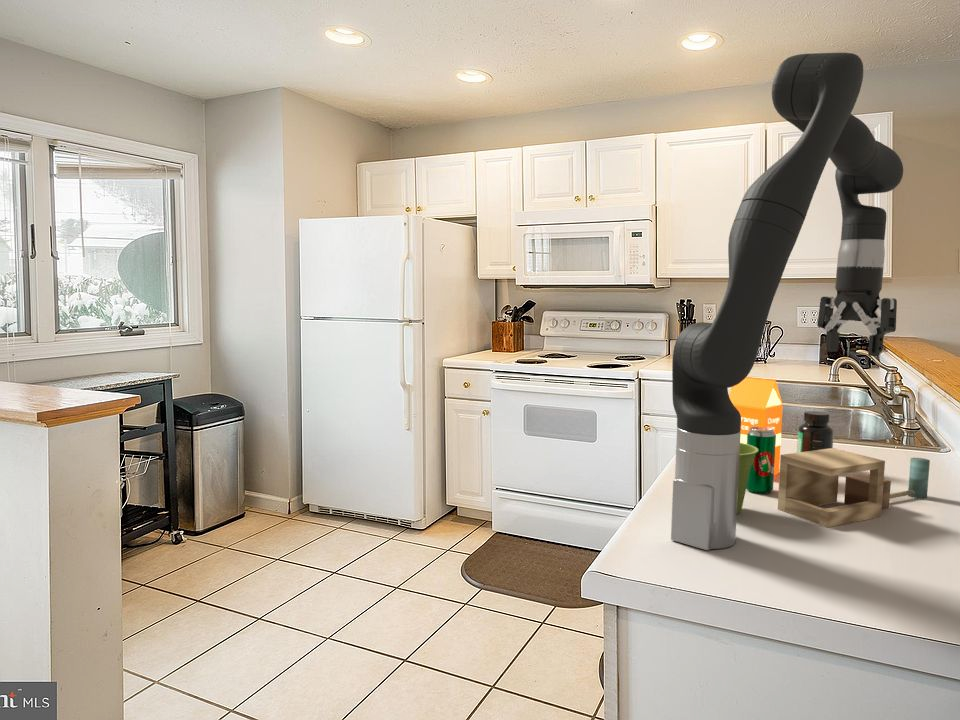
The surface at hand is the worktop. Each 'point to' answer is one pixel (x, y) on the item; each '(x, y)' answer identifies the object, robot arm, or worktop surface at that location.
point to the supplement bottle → (815, 432)
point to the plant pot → (744, 471)
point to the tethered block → (889, 485)
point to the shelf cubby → (827, 486)
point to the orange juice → (759, 408)
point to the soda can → (762, 460)
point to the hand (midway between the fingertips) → (852, 353)
